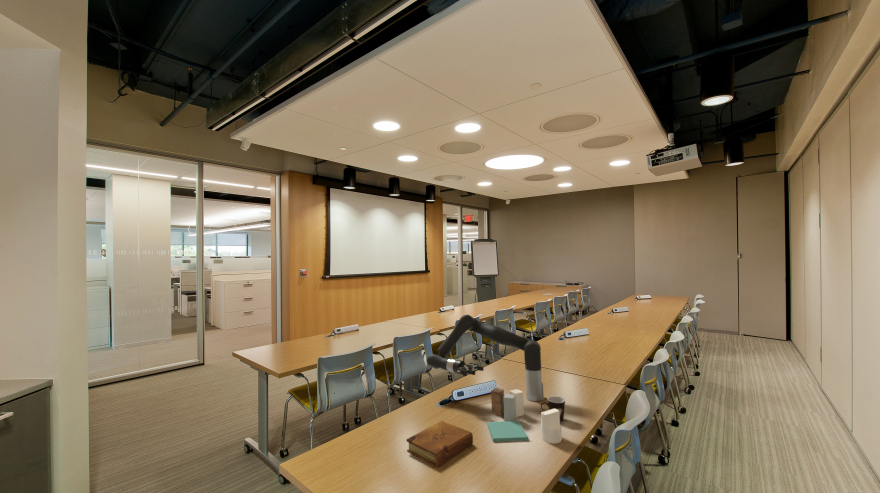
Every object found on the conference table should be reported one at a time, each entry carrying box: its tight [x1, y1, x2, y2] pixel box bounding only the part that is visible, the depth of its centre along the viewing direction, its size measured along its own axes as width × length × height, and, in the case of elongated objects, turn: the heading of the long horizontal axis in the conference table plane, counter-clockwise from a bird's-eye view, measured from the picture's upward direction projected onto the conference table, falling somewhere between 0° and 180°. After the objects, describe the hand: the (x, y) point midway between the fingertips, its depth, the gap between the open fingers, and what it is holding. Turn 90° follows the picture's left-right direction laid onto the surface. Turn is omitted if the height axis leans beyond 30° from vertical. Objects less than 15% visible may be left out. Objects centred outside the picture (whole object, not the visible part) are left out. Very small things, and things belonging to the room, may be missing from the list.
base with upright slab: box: [540, 408, 563, 444], centre depth 159 cm, size 9×9×12 cm
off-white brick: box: [509, 388, 525, 418], centre depth 185 cm, size 5×5×12 cm
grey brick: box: [503, 393, 516, 422], centre depth 179 cm, size 5×5×12 cm
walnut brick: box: [490, 387, 505, 416], centre depth 188 cm, size 5×5×12 cm
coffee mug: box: [540, 395, 566, 423], centre depth 179 cm, size 12×9×10 cm
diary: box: [406, 420, 474, 468], centre depth 154 cm, size 23×19×6 cm
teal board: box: [486, 420, 529, 443], centre depth 166 cm, size 16×16×2 cm
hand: (479, 371), depth 195 cm, fingers open, 8 cm apart
